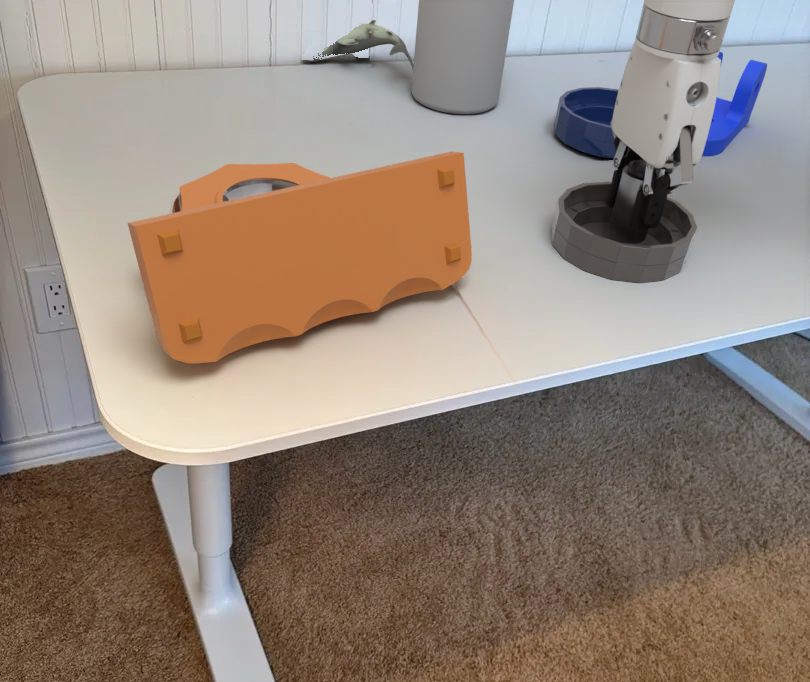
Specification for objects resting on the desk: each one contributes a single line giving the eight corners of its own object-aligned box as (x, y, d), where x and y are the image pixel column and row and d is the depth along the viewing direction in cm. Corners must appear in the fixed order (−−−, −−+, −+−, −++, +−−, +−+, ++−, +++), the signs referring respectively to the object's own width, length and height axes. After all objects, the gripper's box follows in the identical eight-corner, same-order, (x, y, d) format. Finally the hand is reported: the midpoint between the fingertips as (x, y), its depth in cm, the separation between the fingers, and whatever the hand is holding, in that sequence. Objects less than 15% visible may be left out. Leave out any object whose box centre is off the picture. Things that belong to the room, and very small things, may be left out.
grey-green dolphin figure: (296, 75, 118) (311, 117, 125) (409, 49, 116) (420, 93, 122) (297, 15, 126) (312, 57, 132) (404, -11, 123) (414, 34, 130)
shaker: (634, 223, 89) (652, 156, 84) (652, 242, 86) (672, 173, 81) (601, 227, 88) (617, 159, 83) (619, 245, 85) (637, 176, 80)
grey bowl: (641, 214, 96) (651, 178, 93) (709, 280, 86) (723, 241, 83) (529, 223, 92) (536, 186, 89) (587, 293, 82) (597, 253, 79)
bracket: (693, 106, 124) (712, 43, 118) (748, 121, 121) (771, 58, 115) (653, 143, 112) (673, 75, 106) (713, 161, 109) (737, 92, 103)
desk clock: (466, 146, 73) (351, 137, 89) (135, 219, 59) (68, 193, 75) (477, 280, 78) (366, 250, 94) (175, 376, 64) (104, 322, 80)
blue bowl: (626, 117, 118) (635, 85, 115) (679, 160, 108) (689, 127, 105) (536, 121, 114) (542, 88, 111) (582, 166, 104) (590, 131, 101)
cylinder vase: (393, 92, 118) (407, -112, 102) (457, 77, 125) (480, -117, 108) (451, 123, 111) (477, -90, 95) (516, 106, 118) (550, -96, 101)
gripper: (773, 61, 69) (707, 253, 81) (668, 2, 81) (624, 177, 93) (695, 65, 67) (639, 261, 79) (600, 4, 79) (564, 183, 91)
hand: (632, 214), depth 86 cm, fingers closed on shaker, 4 cm apart
